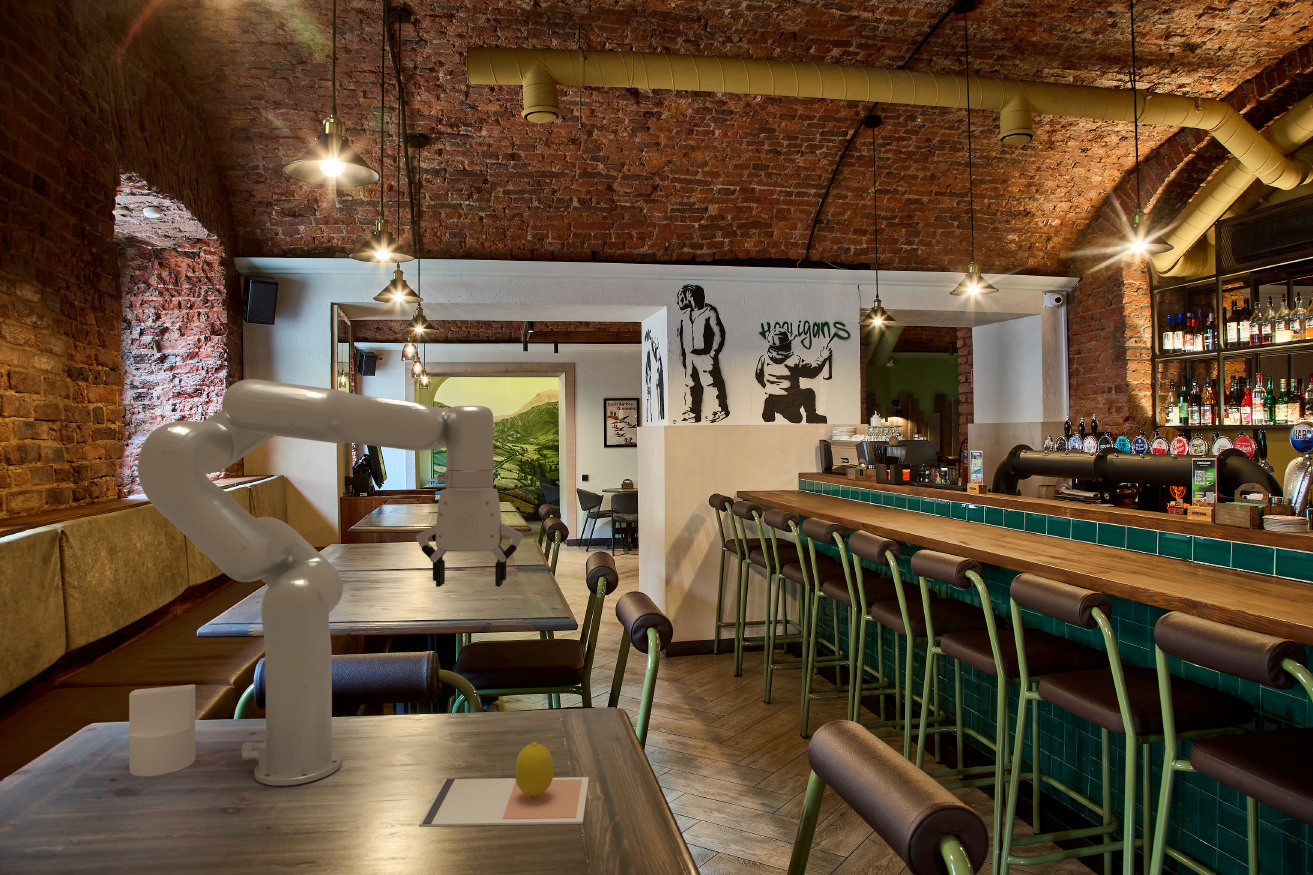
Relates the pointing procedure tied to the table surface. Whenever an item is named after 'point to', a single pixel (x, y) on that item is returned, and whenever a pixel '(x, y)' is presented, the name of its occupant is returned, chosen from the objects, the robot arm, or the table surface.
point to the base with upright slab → (161, 729)
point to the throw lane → (506, 803)
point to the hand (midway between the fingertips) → (469, 585)
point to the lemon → (534, 769)
